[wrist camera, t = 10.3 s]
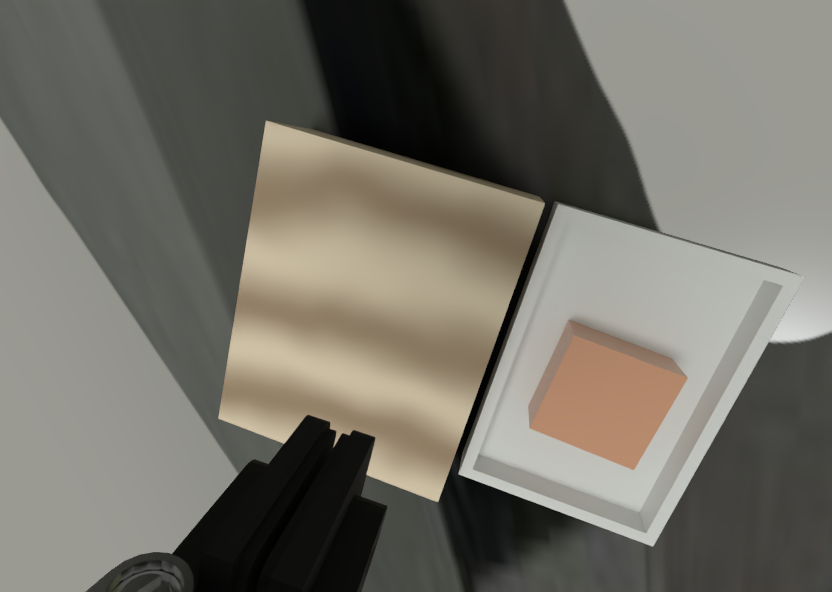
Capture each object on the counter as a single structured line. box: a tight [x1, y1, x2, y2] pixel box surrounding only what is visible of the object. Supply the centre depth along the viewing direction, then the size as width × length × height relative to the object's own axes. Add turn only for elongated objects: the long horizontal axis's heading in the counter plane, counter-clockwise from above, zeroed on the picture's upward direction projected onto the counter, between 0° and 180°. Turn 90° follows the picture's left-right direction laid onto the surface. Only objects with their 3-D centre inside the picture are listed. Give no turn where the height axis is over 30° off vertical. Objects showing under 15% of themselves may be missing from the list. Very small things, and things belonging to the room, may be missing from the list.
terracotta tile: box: [528, 320, 688, 470], centre depth 30 cm, size 7×7×3 cm
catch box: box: [459, 201, 805, 546], centre depth 31 cm, size 20×14×2 cm
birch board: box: [218, 121, 545, 502], centre depth 31 cm, size 20×16×6 cm
